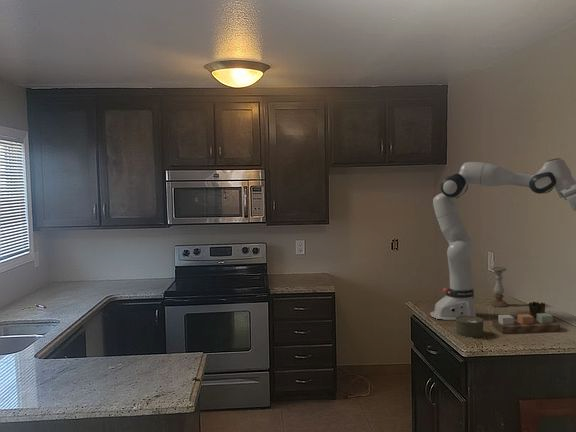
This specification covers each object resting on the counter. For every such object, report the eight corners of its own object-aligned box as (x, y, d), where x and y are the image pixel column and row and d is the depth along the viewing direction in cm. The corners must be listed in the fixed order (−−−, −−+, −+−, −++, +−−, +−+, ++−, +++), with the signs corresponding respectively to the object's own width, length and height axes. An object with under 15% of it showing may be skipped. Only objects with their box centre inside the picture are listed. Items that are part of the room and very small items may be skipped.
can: (475, 329, 248) (475, 314, 248) (488, 336, 236) (488, 321, 236) (451, 331, 247) (451, 316, 246) (463, 339, 235) (463, 323, 234)
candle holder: (496, 302, 296) (496, 266, 295) (511, 305, 289) (510, 268, 288) (487, 305, 291) (486, 268, 290) (501, 308, 284) (501, 270, 283)
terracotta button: (522, 324, 243) (522, 317, 243) (517, 321, 248) (517, 314, 248) (533, 324, 244) (533, 316, 243) (528, 321, 249) (528, 313, 248)
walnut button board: (503, 333, 240) (503, 327, 240) (492, 326, 252) (492, 320, 252) (560, 331, 241) (560, 324, 240) (546, 323, 253) (546, 317, 252)
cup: (526, 319, 261) (526, 303, 260) (532, 316, 266) (532, 300, 265) (542, 322, 255) (542, 305, 255) (547, 319, 260) (547, 302, 260)
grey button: (503, 325, 243) (502, 317, 243) (498, 322, 248) (498, 315, 248) (513, 325, 243) (513, 317, 243) (509, 322, 248) (508, 314, 248)
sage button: (541, 323, 244) (541, 316, 243) (536, 320, 249) (536, 313, 248) (552, 323, 244) (552, 315, 244) (547, 320, 249) (547, 313, 249)
